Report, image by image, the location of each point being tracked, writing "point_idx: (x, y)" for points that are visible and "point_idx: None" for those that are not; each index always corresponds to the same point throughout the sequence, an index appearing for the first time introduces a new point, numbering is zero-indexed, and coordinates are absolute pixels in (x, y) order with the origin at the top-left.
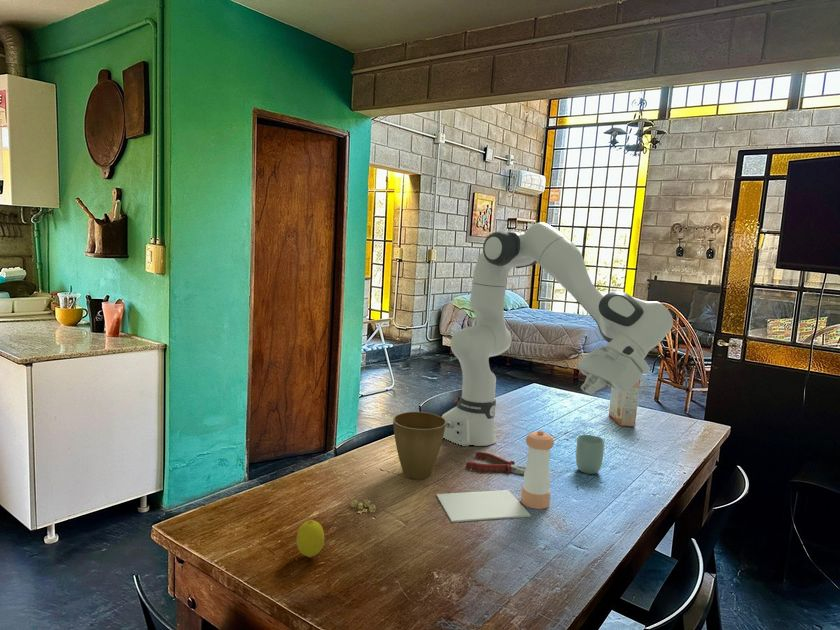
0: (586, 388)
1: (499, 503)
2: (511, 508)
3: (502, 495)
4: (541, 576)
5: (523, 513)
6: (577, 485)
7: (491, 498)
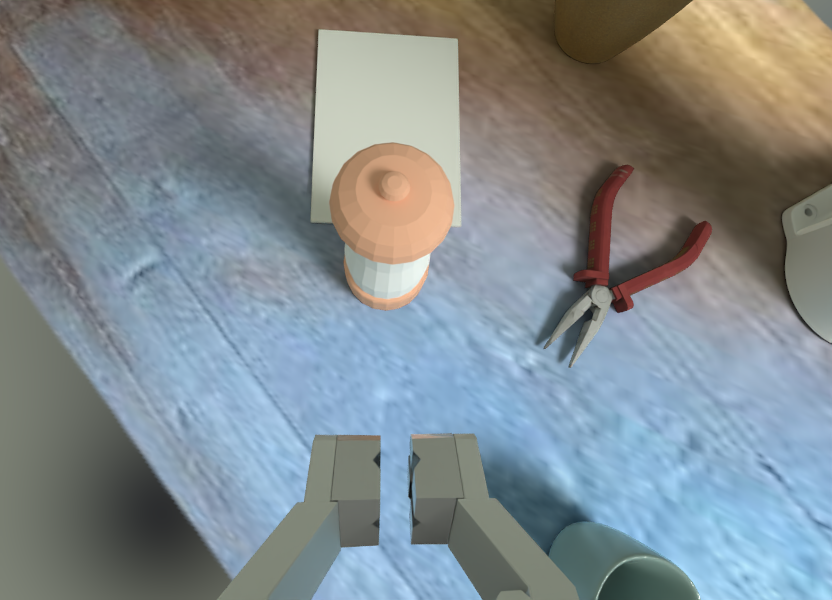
0: (360, 443)
1: None
2: None
3: None
4: (54, 128)
5: (321, 206)
6: None
7: None
